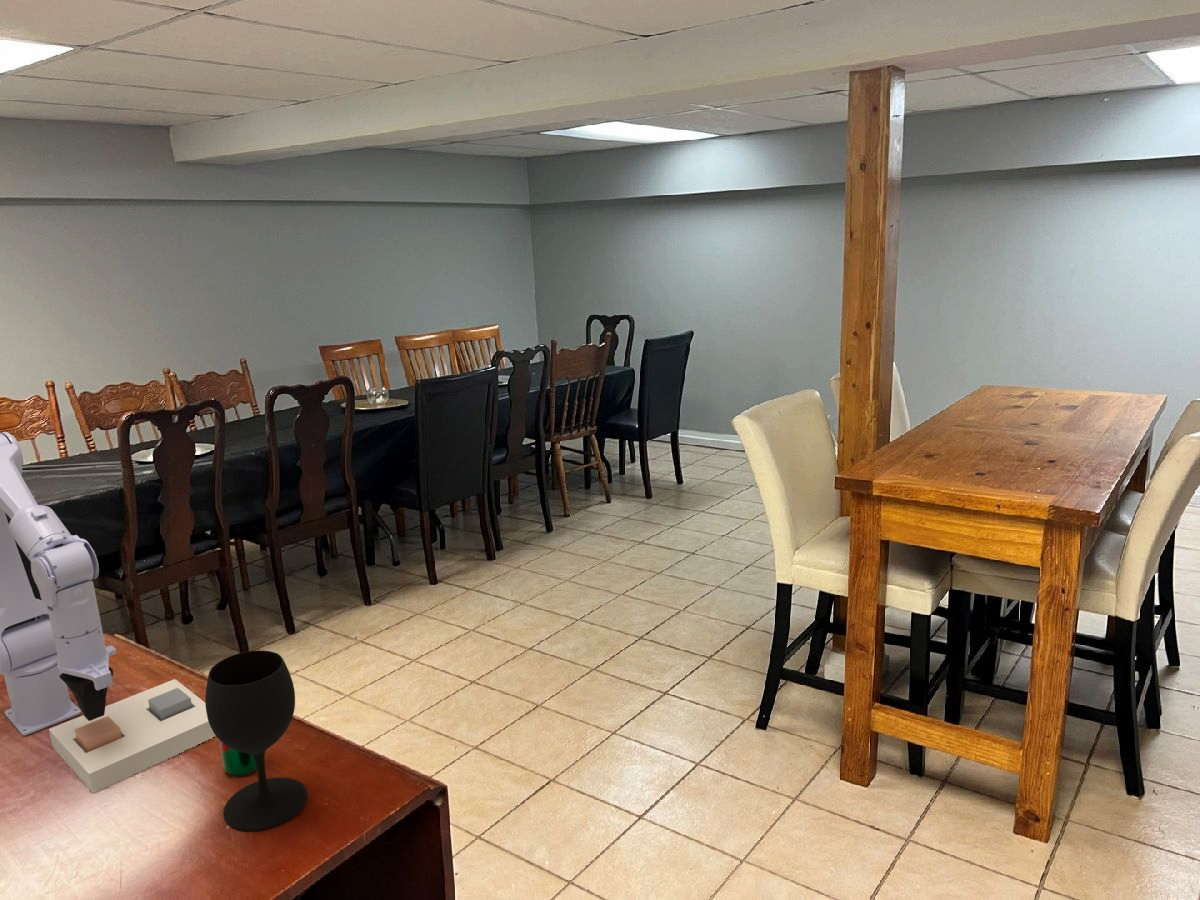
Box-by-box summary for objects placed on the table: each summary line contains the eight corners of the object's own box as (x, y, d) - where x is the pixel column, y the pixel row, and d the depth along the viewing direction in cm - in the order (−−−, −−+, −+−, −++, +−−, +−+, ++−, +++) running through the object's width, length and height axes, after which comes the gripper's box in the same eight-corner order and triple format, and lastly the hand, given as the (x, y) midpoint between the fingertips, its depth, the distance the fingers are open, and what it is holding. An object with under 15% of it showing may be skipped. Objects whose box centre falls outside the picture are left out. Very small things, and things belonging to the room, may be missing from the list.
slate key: (150, 711, 131) (148, 699, 130) (179, 699, 134) (177, 687, 133) (162, 722, 128) (160, 710, 127) (192, 709, 131) (190, 697, 131)
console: (52, 747, 127) (48, 729, 126) (177, 695, 140) (174, 679, 139) (93, 793, 117) (89, 773, 116) (224, 733, 129) (221, 715, 129)
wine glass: (222, 792, 116) (201, 657, 111) (304, 771, 120) (287, 640, 115) (223, 841, 107) (200, 697, 102) (311, 817, 111) (293, 677, 106)
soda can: (249, 780, 119) (238, 701, 115) (216, 775, 120) (204, 698, 116) (270, 757, 123) (259, 682, 120) (238, 754, 124) (227, 678, 121)
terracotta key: (77, 741, 124) (74, 729, 123) (110, 728, 127) (107, 715, 126) (88, 753, 121) (85, 741, 120) (122, 739, 124) (119, 727, 123)
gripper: (129, 633, 117) (145, 722, 121) (89, 604, 127) (105, 687, 130) (71, 653, 112) (90, 745, 116) (34, 621, 122) (53, 707, 125)
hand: (95, 716), depth 123 cm, fingers closed
